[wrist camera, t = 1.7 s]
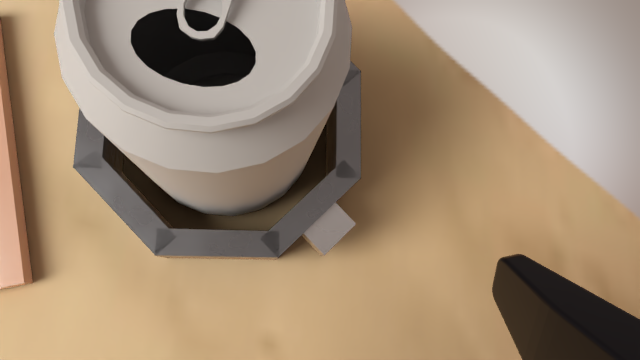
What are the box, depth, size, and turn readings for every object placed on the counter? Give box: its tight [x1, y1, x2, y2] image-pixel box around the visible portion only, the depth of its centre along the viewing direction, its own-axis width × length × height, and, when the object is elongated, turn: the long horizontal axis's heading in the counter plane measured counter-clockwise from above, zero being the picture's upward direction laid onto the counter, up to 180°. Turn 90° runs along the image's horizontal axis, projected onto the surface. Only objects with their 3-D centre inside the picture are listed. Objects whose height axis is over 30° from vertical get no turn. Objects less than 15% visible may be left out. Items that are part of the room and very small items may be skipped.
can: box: [54, 0, 352, 216], centre depth 17 cm, size 8×8×12 cm
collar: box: [73, 61, 361, 260], centre depth 21 cm, size 13×11×3 cm
